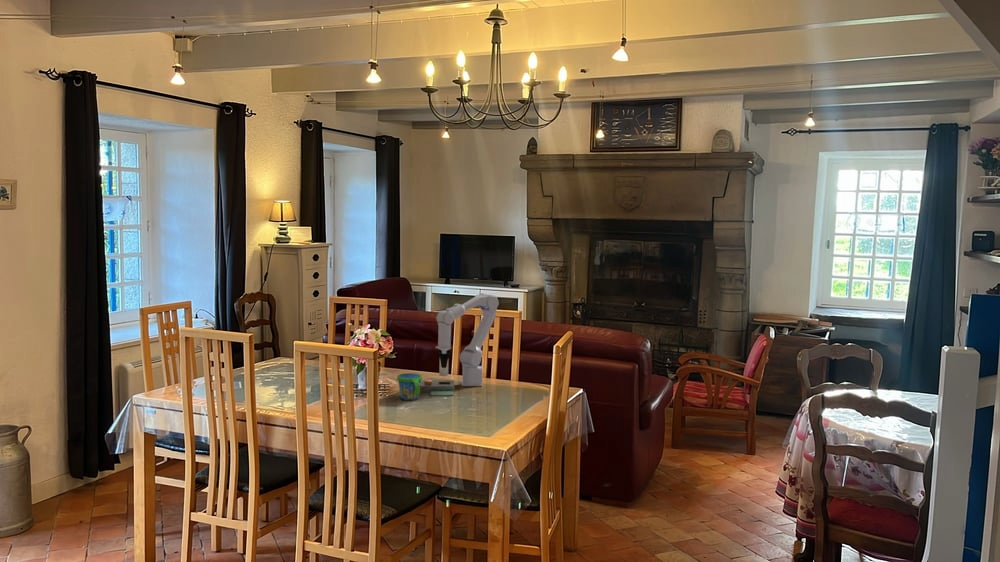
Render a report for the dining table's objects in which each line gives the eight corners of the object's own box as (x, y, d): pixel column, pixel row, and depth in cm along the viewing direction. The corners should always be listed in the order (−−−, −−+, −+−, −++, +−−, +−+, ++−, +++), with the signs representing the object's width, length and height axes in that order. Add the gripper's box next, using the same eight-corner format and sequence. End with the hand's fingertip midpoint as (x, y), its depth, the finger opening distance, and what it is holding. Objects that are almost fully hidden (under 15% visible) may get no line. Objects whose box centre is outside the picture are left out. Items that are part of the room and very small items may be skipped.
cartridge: (448, 374, 340) (448, 354, 339) (448, 376, 336) (448, 356, 335) (439, 374, 339) (439, 354, 339) (439, 375, 335) (439, 356, 335)
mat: (453, 392, 331) (453, 391, 331) (453, 396, 325) (453, 394, 325) (430, 392, 330) (430, 391, 330) (430, 396, 324) (430, 394, 324)
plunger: (432, 386, 340) (432, 379, 340) (431, 387, 337) (431, 381, 336) (424, 386, 340) (424, 379, 340) (424, 387, 336) (424, 381, 336)
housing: (454, 385, 345) (454, 380, 345) (454, 391, 333) (454, 386, 333) (421, 385, 344) (422, 380, 344) (421, 391, 332) (421, 386, 332)
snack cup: (427, 402, 314) (427, 378, 313) (403, 404, 310) (403, 380, 309) (415, 393, 328) (415, 371, 327) (392, 395, 323) (392, 373, 323)
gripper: (436, 334, 343) (435, 363, 344) (435, 339, 328) (434, 369, 330) (451, 334, 343) (450, 363, 344) (451, 339, 329) (450, 369, 330)
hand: (443, 366), depth 337 cm, fingers closed on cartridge, 4 cm apart
